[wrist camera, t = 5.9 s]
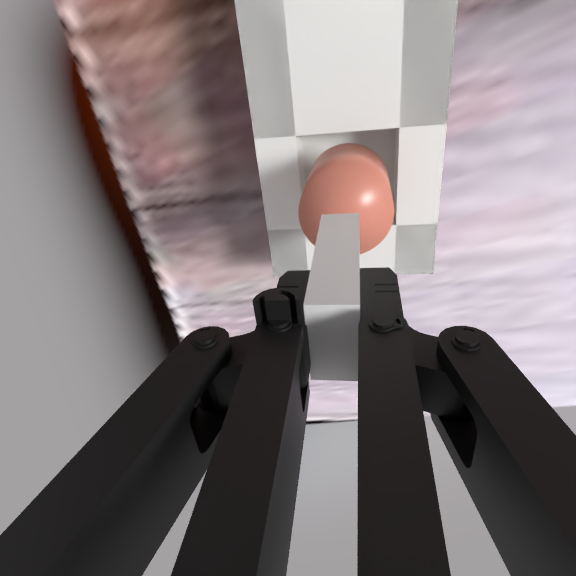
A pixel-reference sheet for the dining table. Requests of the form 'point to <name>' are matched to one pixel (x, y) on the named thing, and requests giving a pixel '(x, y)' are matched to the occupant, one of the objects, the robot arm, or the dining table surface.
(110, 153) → the dining table surface
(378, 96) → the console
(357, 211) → the salmon rounded knob
